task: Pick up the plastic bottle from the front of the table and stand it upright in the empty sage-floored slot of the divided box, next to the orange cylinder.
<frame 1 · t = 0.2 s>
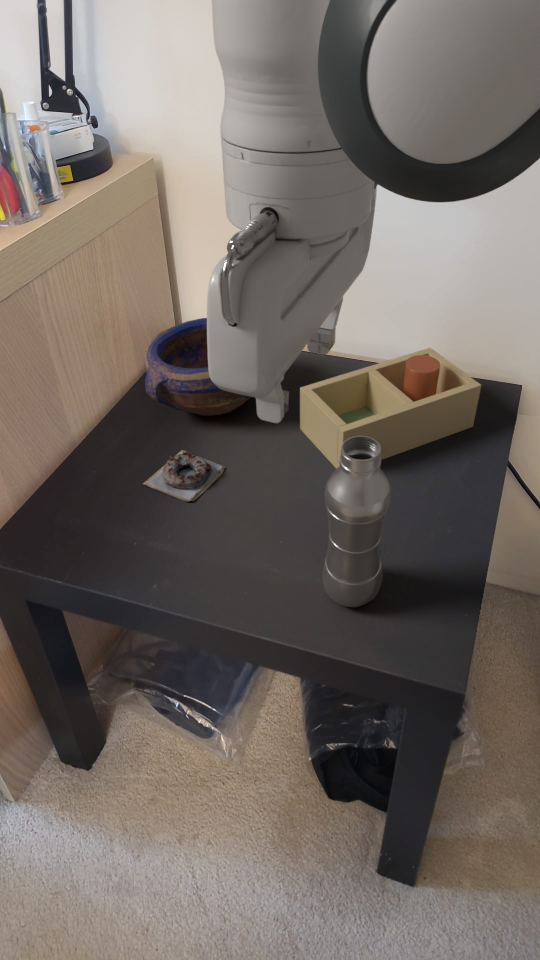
hand: (298, 380, 50), 31 cm above the table, tool pointing down, fingers open, 8 cm apart
bowl: (210, 399, 104), on the table
donut: (184, 476, 90), on the table
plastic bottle: (350, 592, 75), on the table
orange cylinder: (416, 411, 98), point 1 cm above the table, touching divided box
divided box: (386, 427, 97), on the table
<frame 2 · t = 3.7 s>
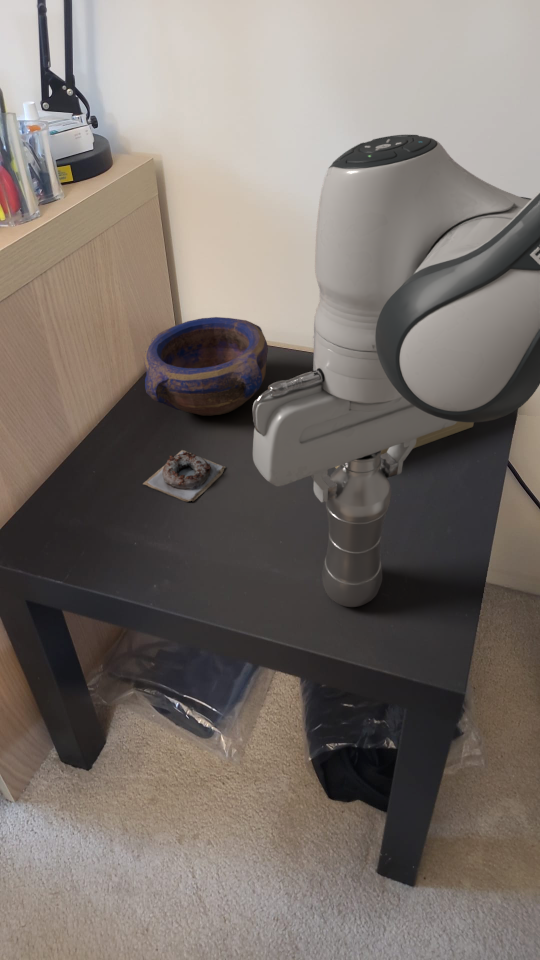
hand: (358, 484, 64), 16 cm above the table, tool pointing down, fingers closed on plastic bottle, 6 cm apart
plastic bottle: (350, 592, 75), on the table, touching gripper
everything else where it was.
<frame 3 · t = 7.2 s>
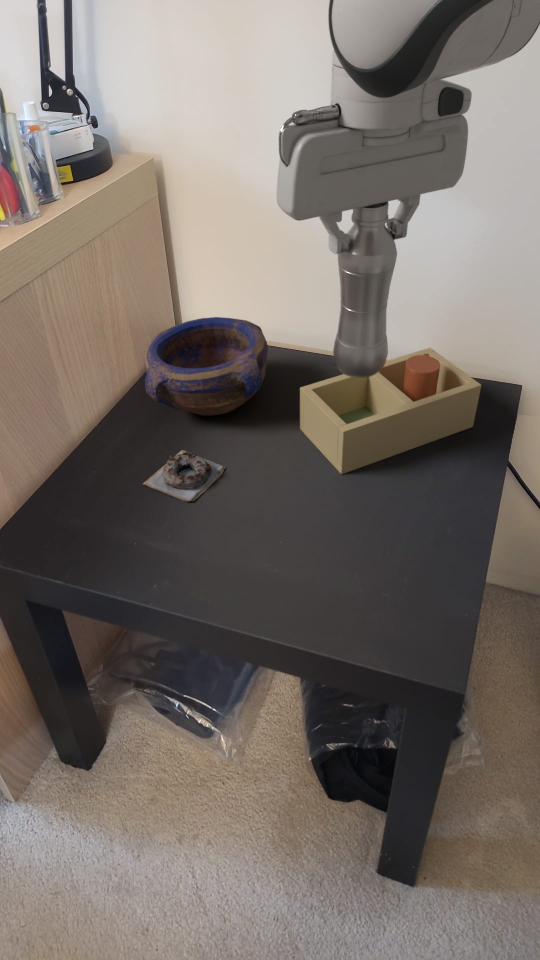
hand: (368, 244, 73), 29 cm above the table, tool pointing down, fingers closed on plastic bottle, 6 cm apart
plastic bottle: (359, 371, 83), point 14 cm above the table, touching gripper
everything else where it was.
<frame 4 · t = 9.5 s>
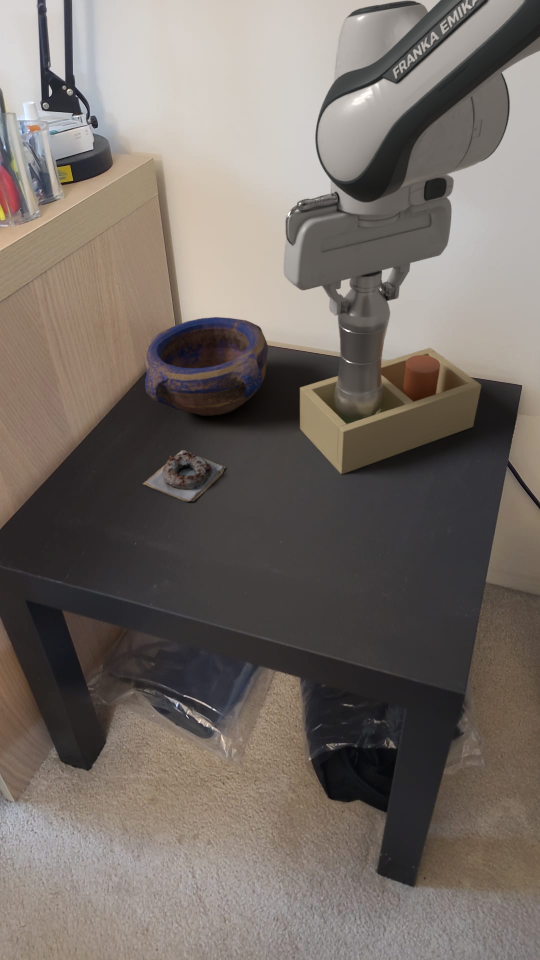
hand: (364, 305, 82), 20 cm above the table, tool pointing down, fingers closed on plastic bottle, 6 cm apart
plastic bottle: (357, 413, 92), point 4 cm above the table, touching gripper
everything else where it was.
when the fingers open (17 cm above the table, at t = 11.0 s): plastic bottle stays where it is, resting on divided box.
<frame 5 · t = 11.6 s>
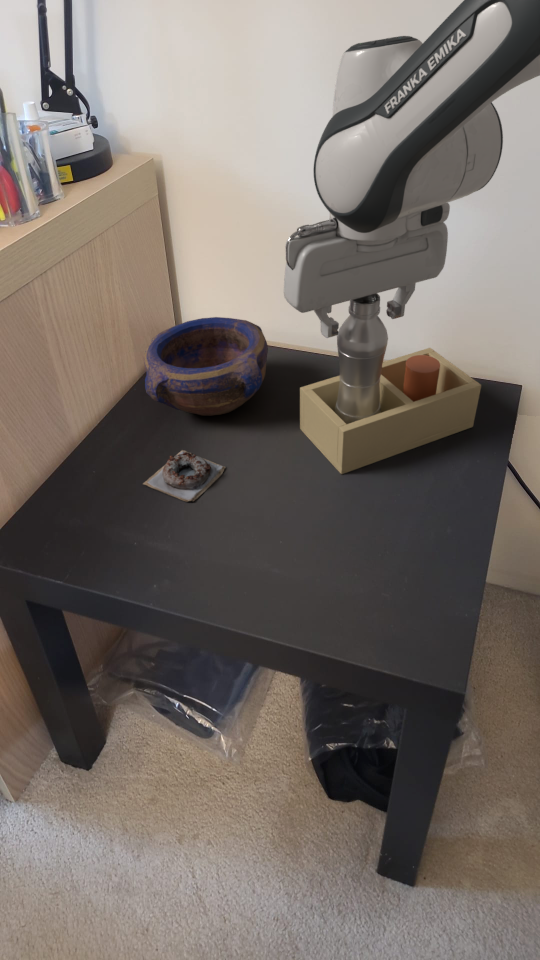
hand: (362, 325, 84), 17 cm above the table, tool pointing down, fingers open, 8 cm apart
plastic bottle: (356, 433, 94), point 1 cm above the table, touching divided box
everything else where it was.
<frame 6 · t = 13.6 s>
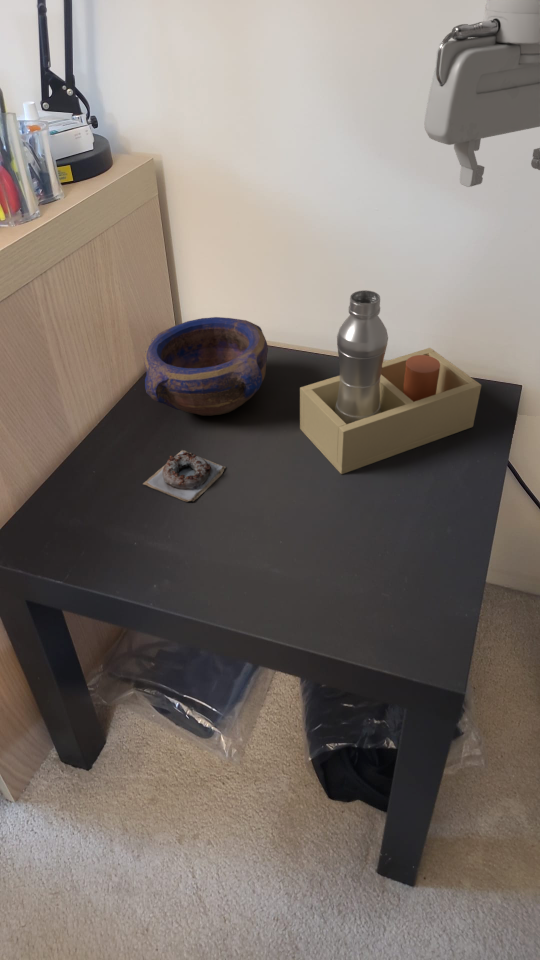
hand: (506, 176, 70), 35 cm above the table, tool pointing down, fingers open, 8 cm apart
nothing on the table moved.
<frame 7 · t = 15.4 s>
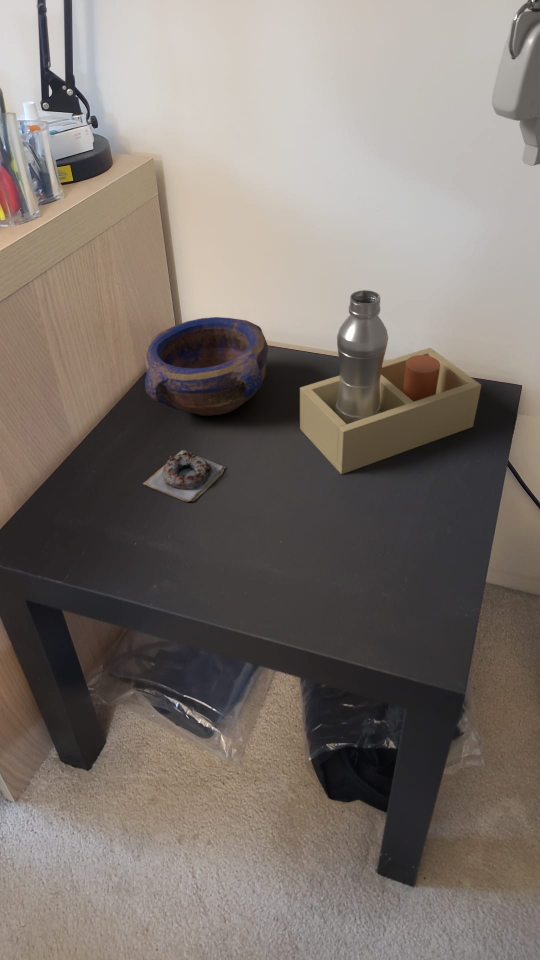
nothing on the table moved.
at the end: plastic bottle 0.1 cm from the target spot in the divided box, point 1.0 cm above the divided box's base; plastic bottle tilted 0° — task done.
